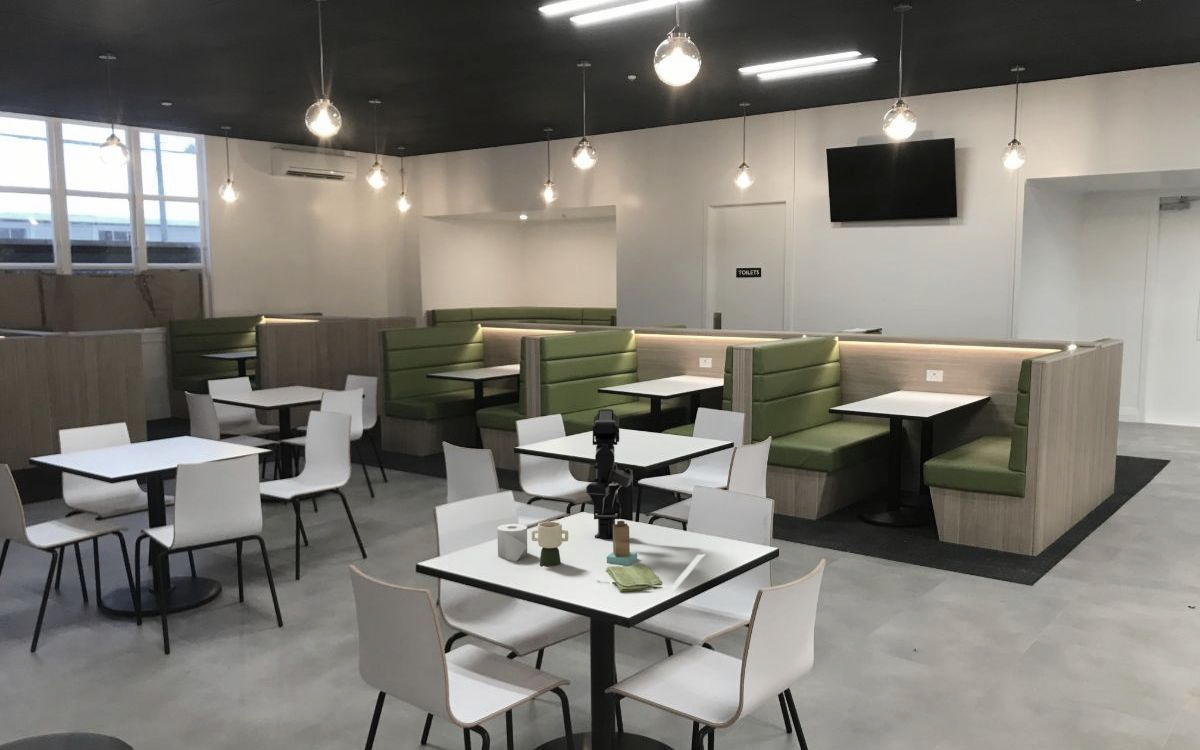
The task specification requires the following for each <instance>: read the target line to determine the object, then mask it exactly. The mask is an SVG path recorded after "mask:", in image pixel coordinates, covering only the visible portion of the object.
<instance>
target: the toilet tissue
mask: <svg viewBox="0 0 1200 750" xmlns="http://www.w3.org/2000/svg"><path fill="white" fill-rule="evenodd" d="M527 556H528V525H525V524H522V523H506V524H501V525H499V526H497V557H498V558H501V559H504V560H507V561H510V560H511V561H512V562H517V561H518V560H519V559H522V558H525V557H527Z"/></svg>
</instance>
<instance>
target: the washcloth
mask: <svg viewBox="0 0 1200 750" xmlns="http://www.w3.org/2000/svg"><path fill="white" fill-rule="evenodd" d="M605 572H606V573H607V574H608V575H609V576H610V577H611V579H612V580H613V581H611V583H612V584H614V586H615V587H616V588H617V589H618V591H619V592H621V593H624V592H626V593H627V592H632V591H643V590H650V589H661V588H664V587H663V586H661V585H662V584H663V582H662V580H661V579H660V577H659V576H658V575H657V574H656V573H655V572H653V571H652V570H651V568H649V567H648V566H647V565H645V564H644V565H643V564H641V565H640V564H636V565H631V564H630V565H624V566H621V565H617V566H615V565H613V566H607V567H606V569H605ZM657 585H660V586H657Z"/></svg>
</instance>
